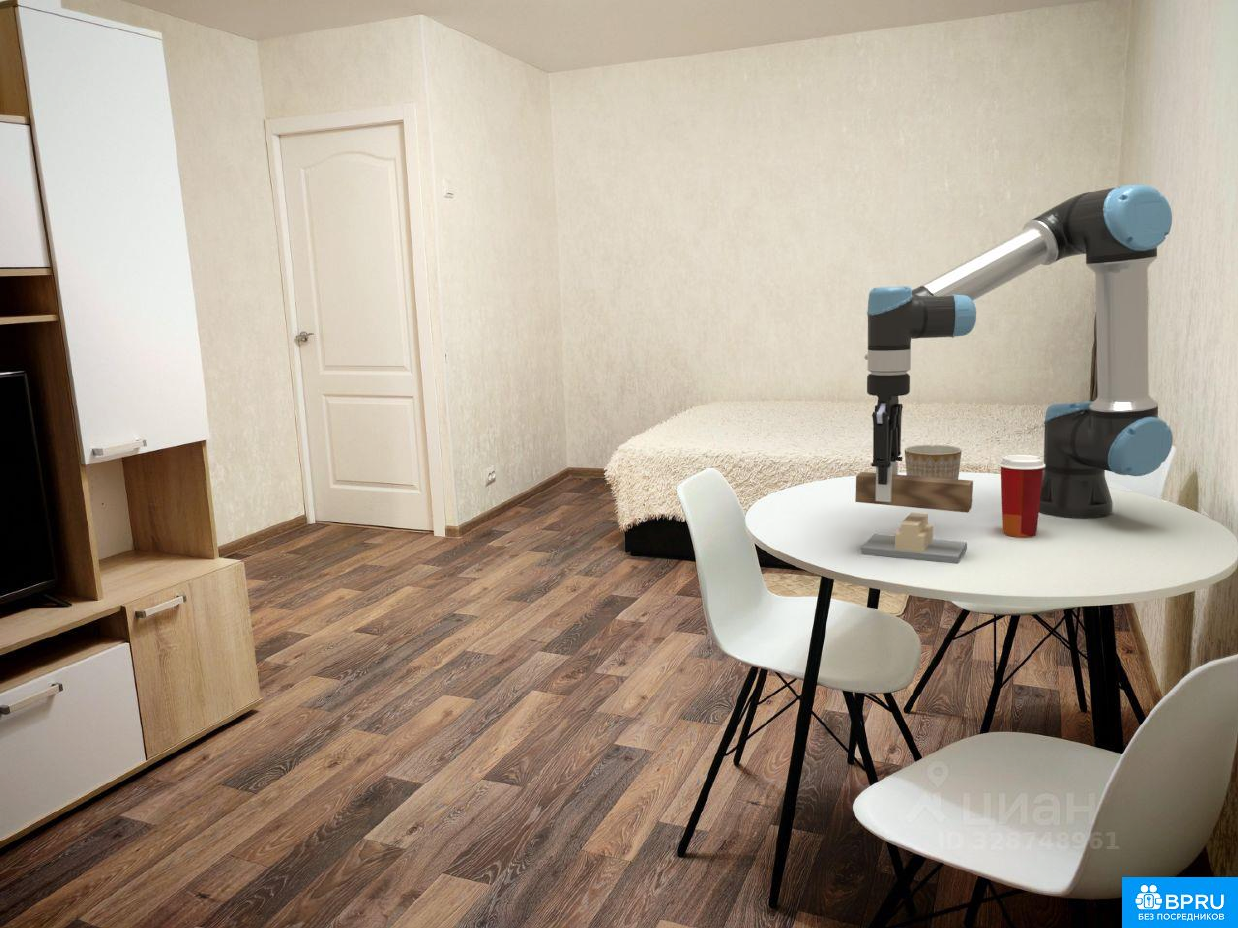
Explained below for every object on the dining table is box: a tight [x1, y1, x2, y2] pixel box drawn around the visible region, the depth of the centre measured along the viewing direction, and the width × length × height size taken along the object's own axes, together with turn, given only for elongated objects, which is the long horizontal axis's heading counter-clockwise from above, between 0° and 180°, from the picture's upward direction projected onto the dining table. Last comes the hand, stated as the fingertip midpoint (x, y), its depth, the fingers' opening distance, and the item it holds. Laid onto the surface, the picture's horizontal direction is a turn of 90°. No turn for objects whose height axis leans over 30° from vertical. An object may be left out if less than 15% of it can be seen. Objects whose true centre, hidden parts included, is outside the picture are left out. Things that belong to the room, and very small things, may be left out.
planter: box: [904, 444, 963, 480], centre depth 212 cm, size 13×13×10 cm
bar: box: [854, 471, 974, 513], centre depth 165 cm, size 20×4×5 cm, turn 61°
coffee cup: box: [997, 454, 1045, 538], centre depth 174 cm, size 8×8×15 cm
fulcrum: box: [860, 512, 968, 564], centre depth 167 cm, size 17×10×6 cm, turn 61°
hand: (886, 498), depth 168 cm, fingers closed on bar, 4 cm apart
